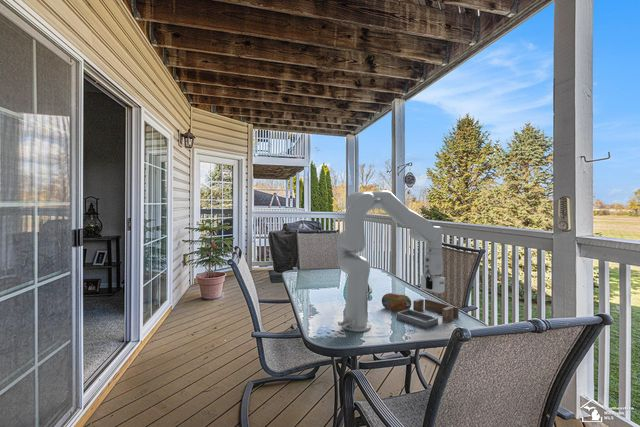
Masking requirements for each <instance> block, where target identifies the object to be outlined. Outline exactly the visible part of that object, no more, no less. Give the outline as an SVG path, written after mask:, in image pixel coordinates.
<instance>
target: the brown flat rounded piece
mask: <svg viewBox="0 0 640 427" xmlns="http://www.w3.org/2000/svg"><path fill="white" fill-rule="evenodd" d="M381 304H382V306H383V308H385V310H387V311H395V312H401V311H404V310H407V309H411V307H412V300H411V298H410V297H409V296H408V295H406V294H399V293H393V292H389V293H386V294H384V295H383V296H382V297H381Z"/></svg>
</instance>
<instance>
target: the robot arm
mask: <svg viewBox="0 0 640 427" xmlns="http://www.w3.org/2000/svg"><path fill="white" fill-rule="evenodd" d="M346 206H347V207H348V208H347V210H346V212H345V214H344V230H343V231H341V232H340V233H339V234H338V235H337V239H336V250H337V262H338V266H339V268H340V270H341V271H342V272H343V273H345V274H347V275H348V276H347V281H346V283H345V285H346V286H345V292H346V294H345V316H344V317H343V319H342V320H339V321H338V322H337V326H338V327H342V328H343V329H345V330H346V331H350V332H356V333H361V332H366V331H369V330H371V329H372V328H371V327H372V325H371V323H370V322H369V321H368V305H369V304H368V302H369V300H368V299H369V294H368V293H369V292H368V291H369V277H370V273H371V266H370V262H369V260H367V258H365V257H363V256H362V255H359V254H358V253H362V252H363V251H364V250H365V247H366V236H365V234H366V233H365V218H366V216H367V213H369V211H370V210H375V209H381V210H382V211H384V213H385V214H386V215H388V216H389V217H390V218H391V219H392V220H393V221H394V222H395V223H397V224H399V225H401V226H403V227H407V228H410V229H409V233H408V234H409V236H410V238H411V239H412V240H413V241H417V242H423V243H425V252H424V253H425V254H424V261H423V262H424V264H423V273H422V275H424V277H425V280H426V288H427V289H432V283H433V281H432V276H434V275H435V276H439V277H441V275H442V274H443V272H444V261H443V259H444V258H443V253H442V252H443V251H442V250H443V228H442V226H438V225H433V223H431V222H430V221H429V220H428V219H426V218H425V217H423V216H422V215H421V214H419V213H417V212H415V211H413V210H412V209H410V208H409V207H407V206H406V204H404V202H402V201H401V200H400V199H399V198H398V197H397V196H395V194H393V192H391V191H390V190H385V189H384V190H374V191H358V192H352V193H350V194H349V195H348V196H347V198H346ZM428 275H429V276H430V277H429V276H428Z"/></svg>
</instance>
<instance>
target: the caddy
mask: <svg viewBox="0 0 640 427" xmlns="http://www.w3.org/2000/svg"><path fill="white" fill-rule="evenodd" d="M428 276H429V275H428ZM429 277H430V276H429ZM432 281H433V283H432V289H427V288H426V280H425V277H424V275H423V274H421V275H420V290H422V291H423V290H424V291H428V292H430V293H431V292H432V293H435V294H443V293H446V292H445V290H446V286H445V284H447V283H448V282H447V281H446V277H445V276H440V277H439V276H435V275H434V276H432Z"/></svg>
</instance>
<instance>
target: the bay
mask: <svg viewBox="0 0 640 427" xmlns="http://www.w3.org/2000/svg"><path fill="white" fill-rule="evenodd" d="M412 304H413V305H412V308H413V309H412V310H414V311H417V312H420V313H423V312H424V309H425V310H429V311H432V312H434V313H435V312H436V313H439V314H442V315H441V316H442V322H443V323H446V324H447V323H449V322H451V321H454V318H455V319H460V318H459V313H460V312H459V310H460V308H459V307H458V306H454V305H450V304H447V303H443V302H440V301H436V300H433V299H429V298H425V299H423V298H417V299H413V303H412Z"/></svg>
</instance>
